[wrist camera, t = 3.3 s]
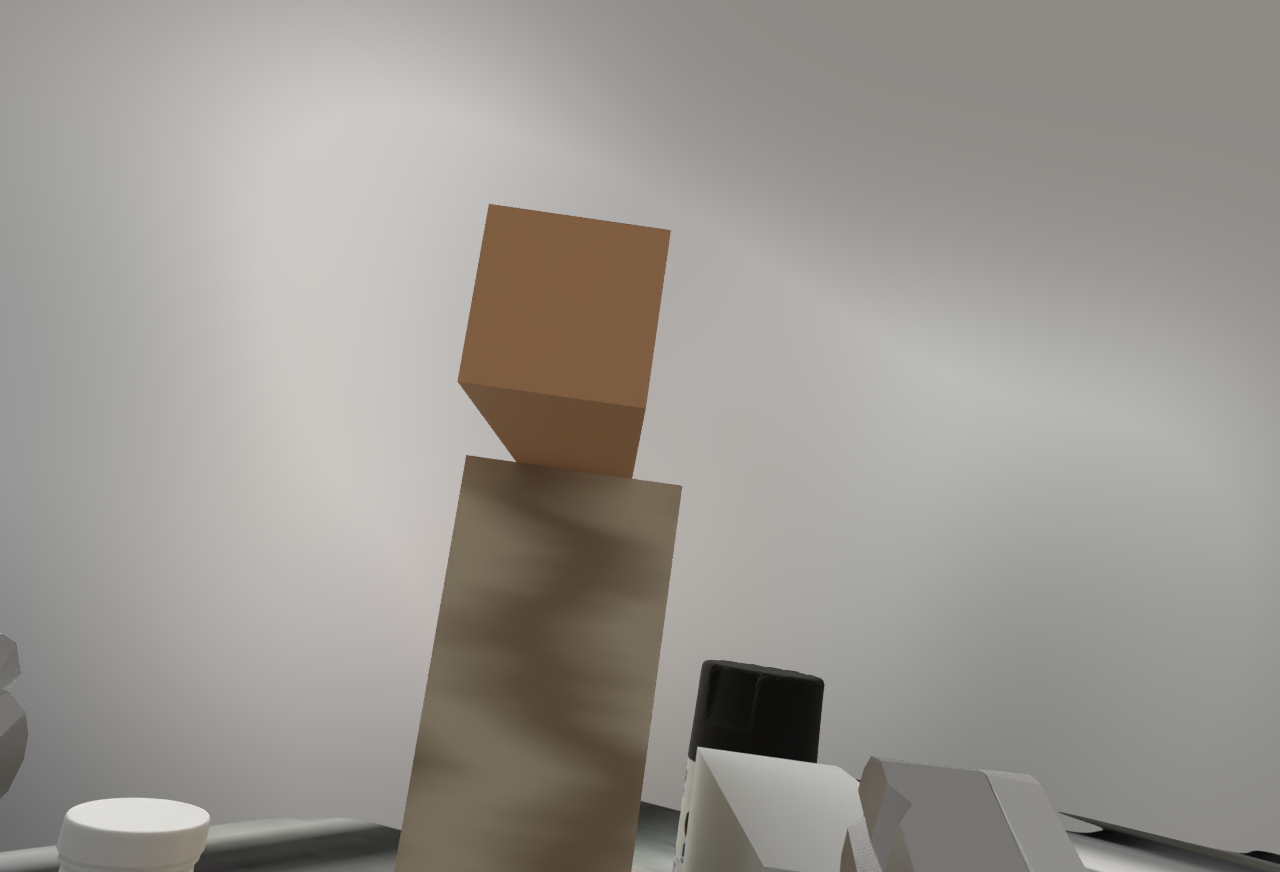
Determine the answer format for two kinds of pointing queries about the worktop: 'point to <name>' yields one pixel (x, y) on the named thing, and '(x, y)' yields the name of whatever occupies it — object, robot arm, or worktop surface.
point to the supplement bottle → (132, 836)
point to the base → (767, 814)
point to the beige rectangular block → (541, 673)
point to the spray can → (751, 720)
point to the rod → (564, 336)
